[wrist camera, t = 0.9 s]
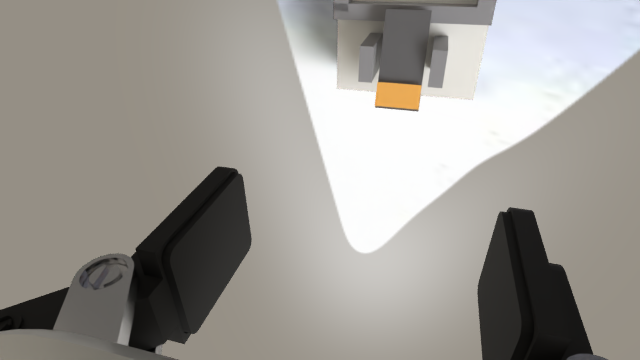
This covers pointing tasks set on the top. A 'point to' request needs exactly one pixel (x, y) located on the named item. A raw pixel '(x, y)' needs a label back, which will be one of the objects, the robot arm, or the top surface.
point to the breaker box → (442, 50)
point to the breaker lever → (403, 59)
